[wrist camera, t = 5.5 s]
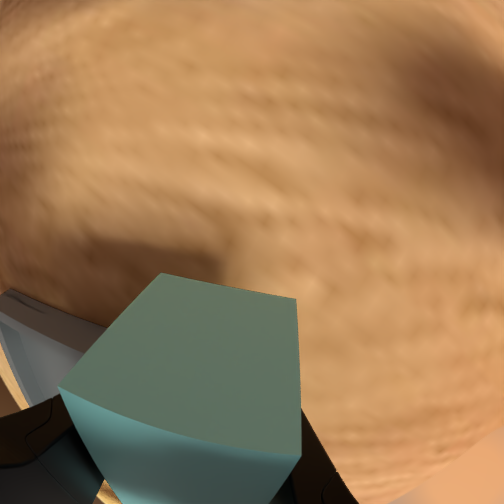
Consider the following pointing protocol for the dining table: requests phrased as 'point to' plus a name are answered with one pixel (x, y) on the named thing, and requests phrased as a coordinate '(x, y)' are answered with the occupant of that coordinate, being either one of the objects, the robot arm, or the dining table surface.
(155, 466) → the teal long block
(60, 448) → the robot arm
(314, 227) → the dining table surface
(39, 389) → the tray
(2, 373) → the dining table surface
